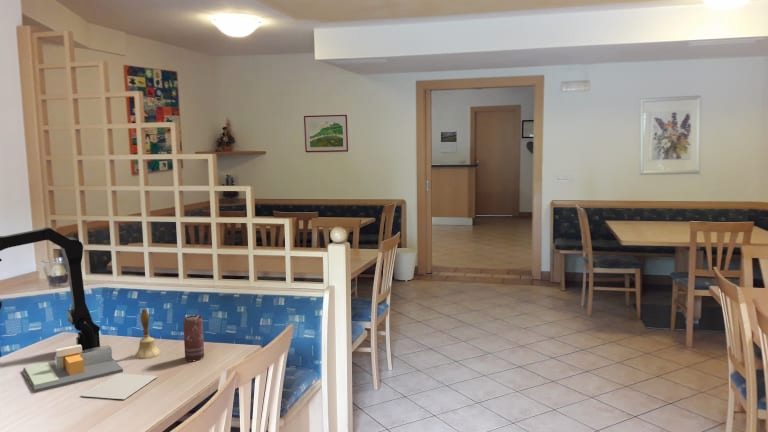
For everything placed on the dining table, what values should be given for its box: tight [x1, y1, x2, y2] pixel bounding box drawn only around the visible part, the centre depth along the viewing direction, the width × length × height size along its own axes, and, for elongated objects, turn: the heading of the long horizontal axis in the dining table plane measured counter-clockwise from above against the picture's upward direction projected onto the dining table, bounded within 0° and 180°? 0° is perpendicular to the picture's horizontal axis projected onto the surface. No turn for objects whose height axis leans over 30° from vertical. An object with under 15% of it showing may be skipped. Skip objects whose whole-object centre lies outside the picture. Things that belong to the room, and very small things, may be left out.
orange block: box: [61, 353, 84, 375], centre depth 183 cm, size 4×14×4 cm, turn 39°
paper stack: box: [80, 373, 159, 400], centre depth 166 cm, size 23×25×1 cm
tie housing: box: [54, 344, 113, 372], centre depth 185 cm, size 16×3×4 cm, turn 129°
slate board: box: [22, 357, 124, 393], centre depth 183 cm, size 24×22×1 cm
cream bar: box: [55, 344, 82, 357], centre depth 182 cm, size 7×2×2 cm, turn 129°
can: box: [182, 315, 205, 361], centre depth 193 cm, size 6×6×14 cm
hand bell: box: [134, 308, 162, 360], centre depth 196 cm, size 8×8×16 cm
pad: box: [25, 362, 59, 386], centre depth 178 cm, size 6×18×1 cm, turn 40°
